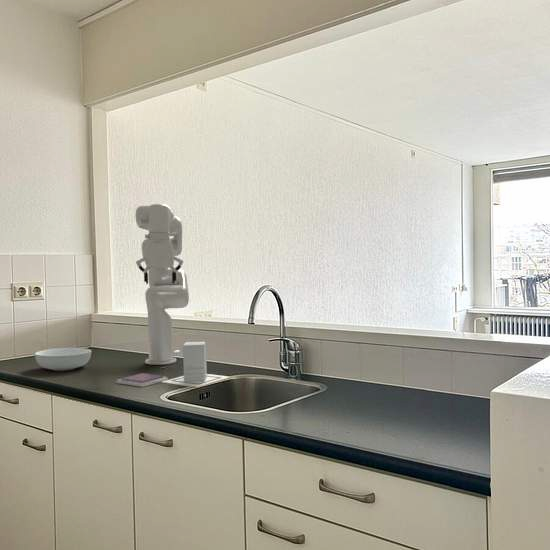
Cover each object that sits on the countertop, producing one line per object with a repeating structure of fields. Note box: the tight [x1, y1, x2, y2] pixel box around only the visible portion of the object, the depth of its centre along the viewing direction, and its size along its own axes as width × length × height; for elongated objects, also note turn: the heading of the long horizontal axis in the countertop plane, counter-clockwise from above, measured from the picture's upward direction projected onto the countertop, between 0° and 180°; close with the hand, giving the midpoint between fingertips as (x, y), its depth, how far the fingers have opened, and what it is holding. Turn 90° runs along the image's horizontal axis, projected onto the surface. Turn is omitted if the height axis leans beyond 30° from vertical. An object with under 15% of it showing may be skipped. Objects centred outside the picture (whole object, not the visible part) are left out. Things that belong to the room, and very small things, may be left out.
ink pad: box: [116, 373, 168, 388], centre depth 198 cm, size 12×12×2 cm
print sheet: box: [160, 373, 231, 389], centre depth 199 cm, size 18×16×1 cm
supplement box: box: [182, 341, 208, 381], centre depth 199 cm, size 7×7×13 cm
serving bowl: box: [34, 347, 92, 372], centre depth 225 cm, size 21×21×7 cm
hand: (160, 283), depth 213 cm, fingers open, 9 cm apart
